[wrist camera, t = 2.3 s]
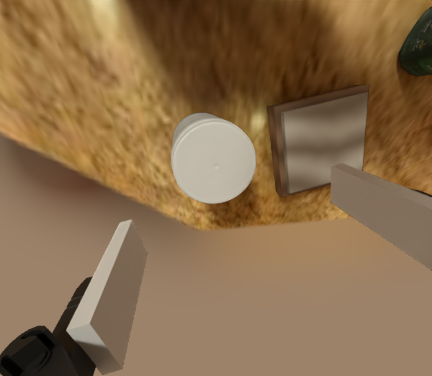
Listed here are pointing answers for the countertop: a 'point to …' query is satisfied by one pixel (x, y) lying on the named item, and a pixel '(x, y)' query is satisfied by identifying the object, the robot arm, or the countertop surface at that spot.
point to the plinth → (317, 137)
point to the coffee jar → (418, 47)
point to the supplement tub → (211, 158)
